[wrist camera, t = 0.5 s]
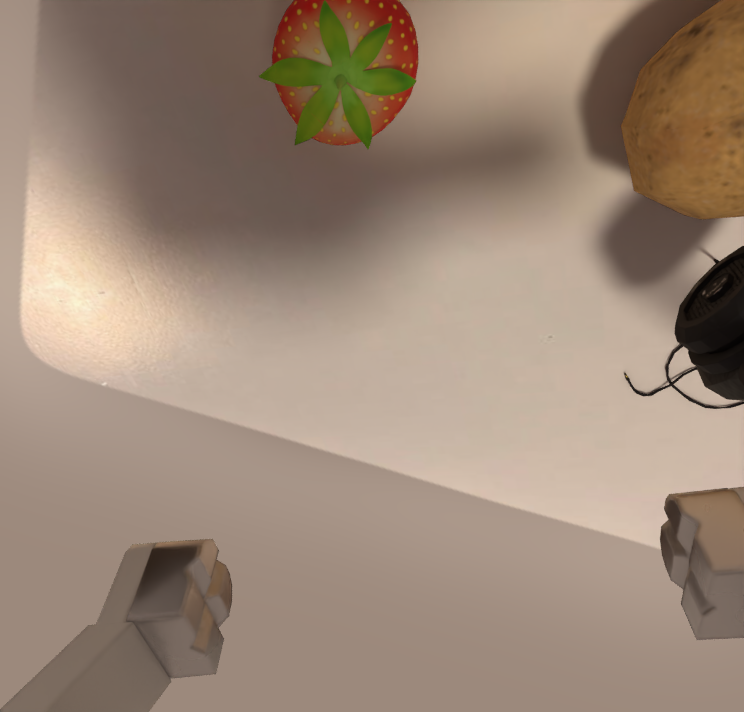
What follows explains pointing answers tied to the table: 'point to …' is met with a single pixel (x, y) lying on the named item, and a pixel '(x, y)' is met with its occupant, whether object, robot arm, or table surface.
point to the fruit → (344, 67)
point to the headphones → (714, 330)
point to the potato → (692, 118)
